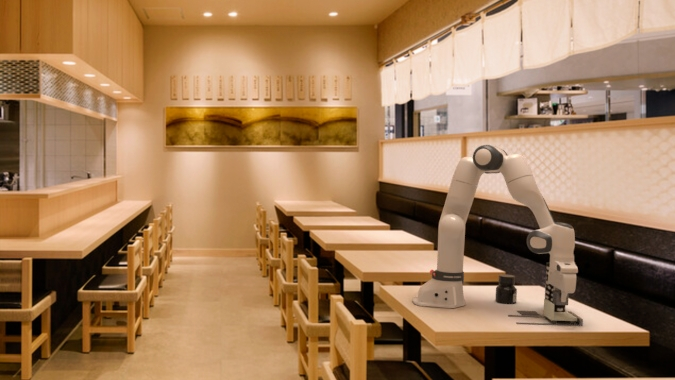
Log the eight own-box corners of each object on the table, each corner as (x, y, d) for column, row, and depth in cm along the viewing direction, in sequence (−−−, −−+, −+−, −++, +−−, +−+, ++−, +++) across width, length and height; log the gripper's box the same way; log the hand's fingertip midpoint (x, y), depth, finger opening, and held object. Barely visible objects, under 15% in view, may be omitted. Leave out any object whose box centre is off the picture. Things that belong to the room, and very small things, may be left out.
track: (516, 325, 244) (517, 317, 244) (507, 316, 256) (508, 309, 256) (582, 327, 244) (583, 319, 244) (570, 318, 256) (570, 311, 256)
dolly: (550, 324, 246) (551, 304, 245) (543, 318, 255) (544, 299, 254) (577, 325, 246) (578, 305, 245) (568, 319, 255) (569, 299, 254)
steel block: (556, 305, 248) (557, 292, 247) (552, 302, 252) (553, 289, 252) (568, 305, 248) (568, 292, 247) (563, 302, 252) (564, 290, 252)
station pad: (521, 316, 258) (521, 315, 258) (516, 311, 266) (516, 310, 266) (541, 316, 258) (541, 315, 258) (535, 312, 266) (535, 311, 266)
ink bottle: (519, 305, 278) (521, 278, 277) (499, 305, 277) (501, 277, 276) (511, 300, 287) (512, 273, 287) (492, 300, 286) (493, 273, 286)
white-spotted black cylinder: (562, 314, 264) (565, 266, 263) (541, 311, 268) (544, 263, 267) (567, 310, 271) (569, 263, 270) (546, 307, 275) (549, 261, 274)
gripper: (544, 260, 260) (543, 294, 260) (562, 268, 239) (561, 305, 240) (560, 260, 260) (558, 294, 260) (579, 269, 239) (578, 306, 240)
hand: (560, 300), depth 250 cm, fingers closed on steel block, 4 cm apart
